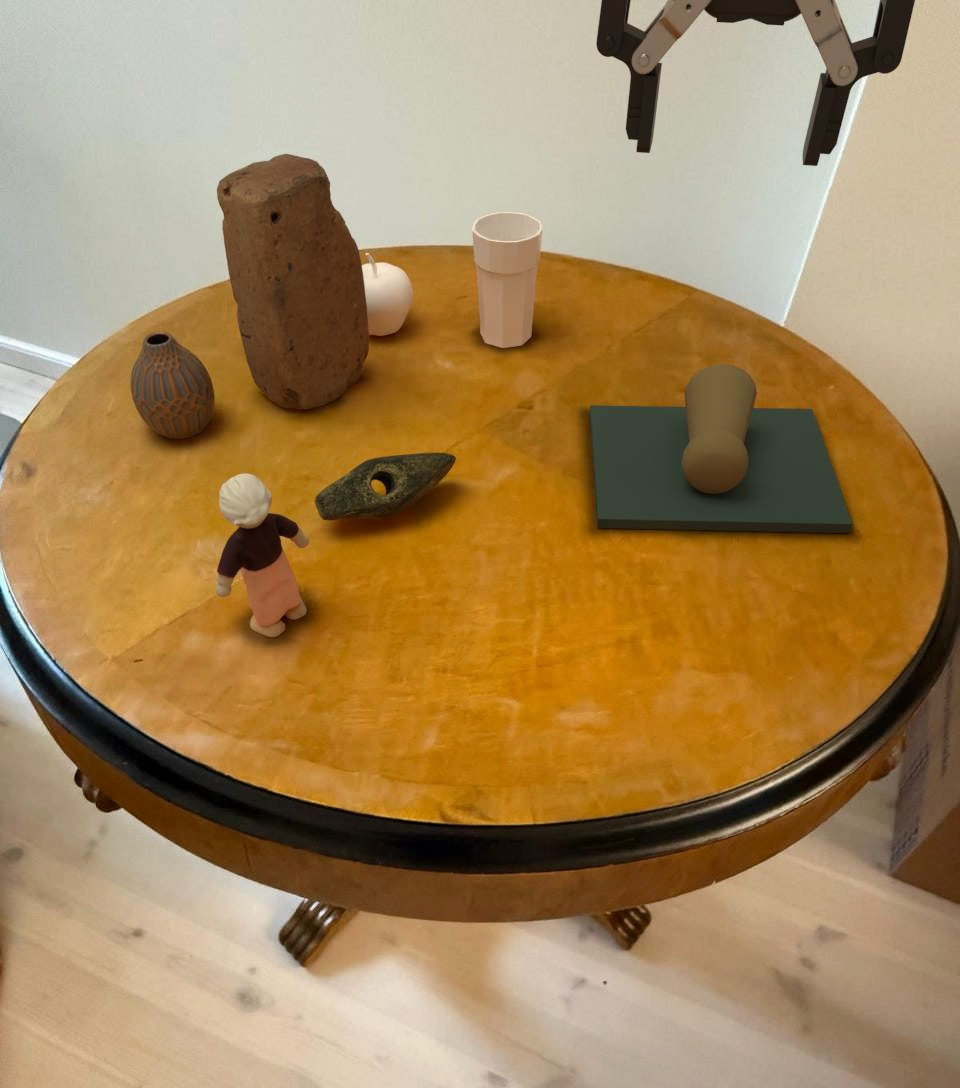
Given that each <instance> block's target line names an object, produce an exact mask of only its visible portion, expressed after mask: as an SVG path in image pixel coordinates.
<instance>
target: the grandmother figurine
mask: <svg viewBox="0 0 960 1088" xmlns="http://www.w3.org/2000/svg"><path fill="white" fill-rule="evenodd" d="M218 494H219V496H218V498H219V499H218V500H219V502H218V506H219V510H220V512H221V513H222V515H223V516H224V518H225V519H226V521H228V523H231V524H233V525H234V526H236V527H238V528H236V530H235V531H234V532H232V534H231V535H230V536H229V537H228V539H227V541H226V543H225V545H224V547H223V550H222V553H221V556H220V559H219V562H218V565H217V568H216V572H217V577H216V581H217V583H216V585H215V587H214V590H215V593H216V594H217V596H219V597H222V598H225V597H228V596H230V595H231V594H232V585H233V583H234V579H235V577H236V576H237V575H238V573H239V572H240V574H241V577H242V580H243V584H244V587H245V592H246V599H247V602H248V607H249V608H250V609H251V611H252V614H253V615H252V616H251V617H250V620H249V627H250V629H251V630H252V631H254V632H255V633H257V634H260V635H263V636H264V637H268V638H276V637H279V636H280V635H281V634H282V633H284V632H285V630H286V624H285V623H284V621H282V620H281V618H283V616H285V618H287V619H289V620H291V621H292V620H298V619H301V618H302V617H304V616H305V615H306V614H307V612H308V609H307V606H306V604H305V603H304V601H303V598H302V597H301V594H300V591H299V585H298V583H297V579H296V576H295V574H294V572H293V569H292V568H291V567H292V566H291V565H290V562H289V560H288V557H287V555H286V553H285V551H284V548H283V546H282V539H281V537H283V538H286V539H289V540H290V541H291V542H293V543H294V544H295V546H296V547H297V548H298V549H299V548H300V549H304V548H306V547H308V545H309V544H310V538H309V537H308V535H307V534H306V533H304V531H303V530H302V529H301V528H300V527H299V525H298V524H297V522H295V521H294V520H291V519H290V518H288V517H287V516H284V515H282V514H279V513H273V512H270V508H271V506H272V504H273V501H272V499H273V496H272V492H271V491H270V490H269V489H268V488H267V487H266V485H265V484H264V483H263V481H262V480H261V479H260V478H258V477H257V476H256V475H254V474H253V473H252V474H251V473H239V474H237V475H234V476H232V477H230V478H229V479H228V480H226V482H224V483H223V484H222V485H221V488H220V489H219V493H218Z"/></svg>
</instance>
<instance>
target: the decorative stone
mask: <svg viewBox="0 0 960 1088" xmlns="http://www.w3.org/2000/svg"><path fill="white" fill-rule="evenodd" d="M456 461H457V458H456V456H455V455H454V454H451V453H447V452H419V453H406V454H394V455H385V456H379V457H374V458H370V459H366V460H365V461H363V462H361V463H360V464H358V465H357V466H355V467H354V468H353V469H351V470H350V471H349V472H348V473H346V474H344V475H343V476H342V477H340V478H339V479H337V480H335V481H334V482H332V483H330V484H329V485H328V486H326V487H324V488H323V489H322V490H321V491H320V492H319V493H318V494H316V496H315V497H314V505H315V508H316V510H317V512H318V515H319V517H320V518H321V520H323V521H343V520H351V519H352V520H353V519H378V518H379V519H380V518H389V517H392V516H393V515H394V516H395V515H396V514H398V513H400V512H402V511H403V510H405V509H407V508H408V507H410V506H411V505H414V503H416V502H417V501H419V500H420V499H422V498H423V497H424V496H426V495H427V494H428V493H429V492H431V491H432V490H433V489H434V488H435V487H436V486H438V484H439V483H440V482H441V481H442V480H443V479H444V478H445V477H446V476H447V475H448V473H450V471H451V469H452V468H453V467H454V465H455V464H456ZM373 481H378V482H380V483H381V484H382V485H383V486H384V488H385V494H380V493H378V492H377V491H375V489H374V487H373V485H372V482H373Z"/></svg>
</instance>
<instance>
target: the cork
mask: <svg viewBox="0 0 960 1088" xmlns="http://www.w3.org/2000/svg"><path fill="white" fill-rule="evenodd" d="M684 390H685V391H684V403H685V407H686V415H687V425H688V435H689V444H688V445H687V447H686V448H685V450H684V452H683V457H682V463H681V466H682V470H683V474H684V477H685V479H686V480H687V481H688V483H689V484H690V485H691V486H693V487H694V488H695V489H697V490H699V491H701V492H704V493H709V494H718V493H724V492H726V491H729V490H731V489H732V488H734V487H735V486H736V485H738V484H739V483H740V482H741V481H742V479H743V478H744V476H745V474H746V472H747V468H748V453H747V450H746V447H745V446H744V440H745V437H746V433H747V429H748V426H749V422H750V418H751V415H752V411H753V408H755V403H756V399H757V395H758V391H757V384H756V382H755V381H754V379H753V378H752V376H751V375H750V374H749V373H748V372H747V371H745V370H744V369H743V368H740V367H738V366H735V365H733V364H723V363H719V364H713V365H708V366H706V367H704V368H702V369H700V370H698V371H697V372H696V373H694V375H692V376H691V377H690V379H689V381H688V383H687V384H686V386H685V389H684Z"/></svg>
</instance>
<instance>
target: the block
mask: <svg viewBox="0 0 960 1088" xmlns="http://www.w3.org/2000/svg"><path fill="white" fill-rule="evenodd" d="M331 195H332V194H331V181H330V179H329V177H328V174H327V172H326V170H325V168H324V167H323V166H322V165H321V164H320V163H319V162H318V161H317V160H314V159H311V158H309V157H303V156H300V155H299V156H298V155H296V154H295V155H294V154H290V153H283V154H278V155H274V157H272V158H270V159H269V160H262V161H255V162H254V161H253V162H252V163H249V164H248V165H246V166H244V167H241V168H239V169H237V170H234V171H232V172H229V173H228V174H227V175H225V176H224V177H223V178H221V179H220V180H219V181H218V184H217V187H216V197H217V198H216V199H217V202H218V205H219V208H220V209H221V211H222V214H223V219H222V226H221V227H222V228H221V230H222V234H223V236H222V237H223V244H224V251H225V257H226V263H227V270H228V276H229V281H230V286H231V290H232V295H233V299H234V301H235V303H236V306H237V308H236V317H237V325H238V329H239V334H240V338H241V343H242V346H243V351H244V355H245V360H246V362H247V365H248V368H249V371H250V374H251V377H252V379H253V382H254V384H255V385H256V387H258V389H259V390H260V391H261V392H262V394H264V396H265V397H266V398H268V399H269V400H270V401H271V402H273V403H274V404H275V405H276V406H277V405H278V406H279V407H281V408H285V409H295V410H296V409H297V410H298V409H299V410H311V409H313V408H319V407H322V406H324V405H325V406H326V405H327V404H330V403H332V402H333V401H335V400H336V399H338V398H340V396H341V395H342V394H343V393H344V392H345V391H346V390H347V389H349V388H351V387H352V386H353V385H354V384H356V382H357V383H358V381H359V379H360V377H361V374H362V372H363V368H364V364H365V361H366V359H367V357H368V355H369V351H370V335H369V329H368V316H367V305H366V296H365V285H364V277H363V271H362V265H363V264H362V259H361V255H360V250H359V247H358V244H357V242H356V240H355V239H354V238H353V236H352V234H351V231H350V229H349V227H348V225H347V224H346V220H345V218H344V217H343V215H342V213H341V212H340V211H339V210H337V209H336V207H334V204H333V202H332V197H331Z"/></svg>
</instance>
